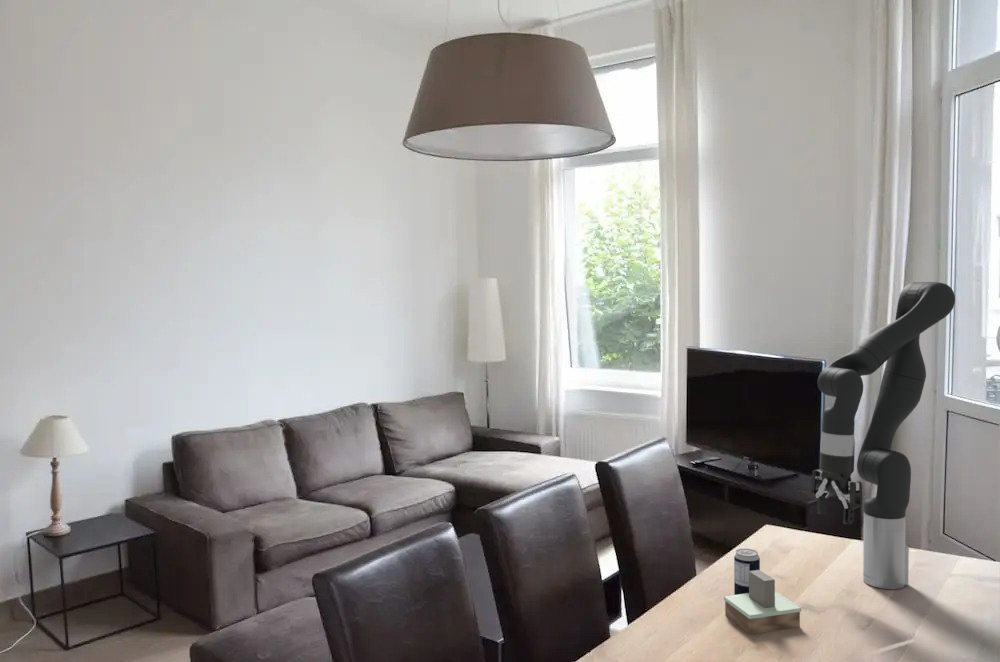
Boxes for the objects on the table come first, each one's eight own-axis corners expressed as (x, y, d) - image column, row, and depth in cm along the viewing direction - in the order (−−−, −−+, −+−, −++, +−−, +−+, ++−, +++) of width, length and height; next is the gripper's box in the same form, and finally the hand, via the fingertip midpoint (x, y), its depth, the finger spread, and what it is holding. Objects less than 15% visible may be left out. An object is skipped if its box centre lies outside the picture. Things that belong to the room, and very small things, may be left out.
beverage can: (761, 608, 180) (761, 556, 179) (735, 606, 181) (735, 555, 180) (758, 598, 186) (758, 548, 185) (733, 596, 187) (733, 547, 186)
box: (772, 610, 179) (772, 593, 178) (799, 629, 169) (799, 611, 169) (725, 617, 176) (725, 600, 175) (750, 636, 166) (750, 618, 166)
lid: (772, 593, 178) (772, 563, 178) (801, 611, 168) (801, 580, 168) (723, 599, 175) (723, 570, 175) (749, 619, 165) (749, 587, 165)
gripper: (872, 456, 181) (869, 526, 182) (828, 445, 195) (826, 509, 196) (846, 458, 179) (843, 528, 180) (803, 446, 192) (801, 511, 193)
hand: (834, 518), depth 188 cm, fingers open, 8 cm apart
